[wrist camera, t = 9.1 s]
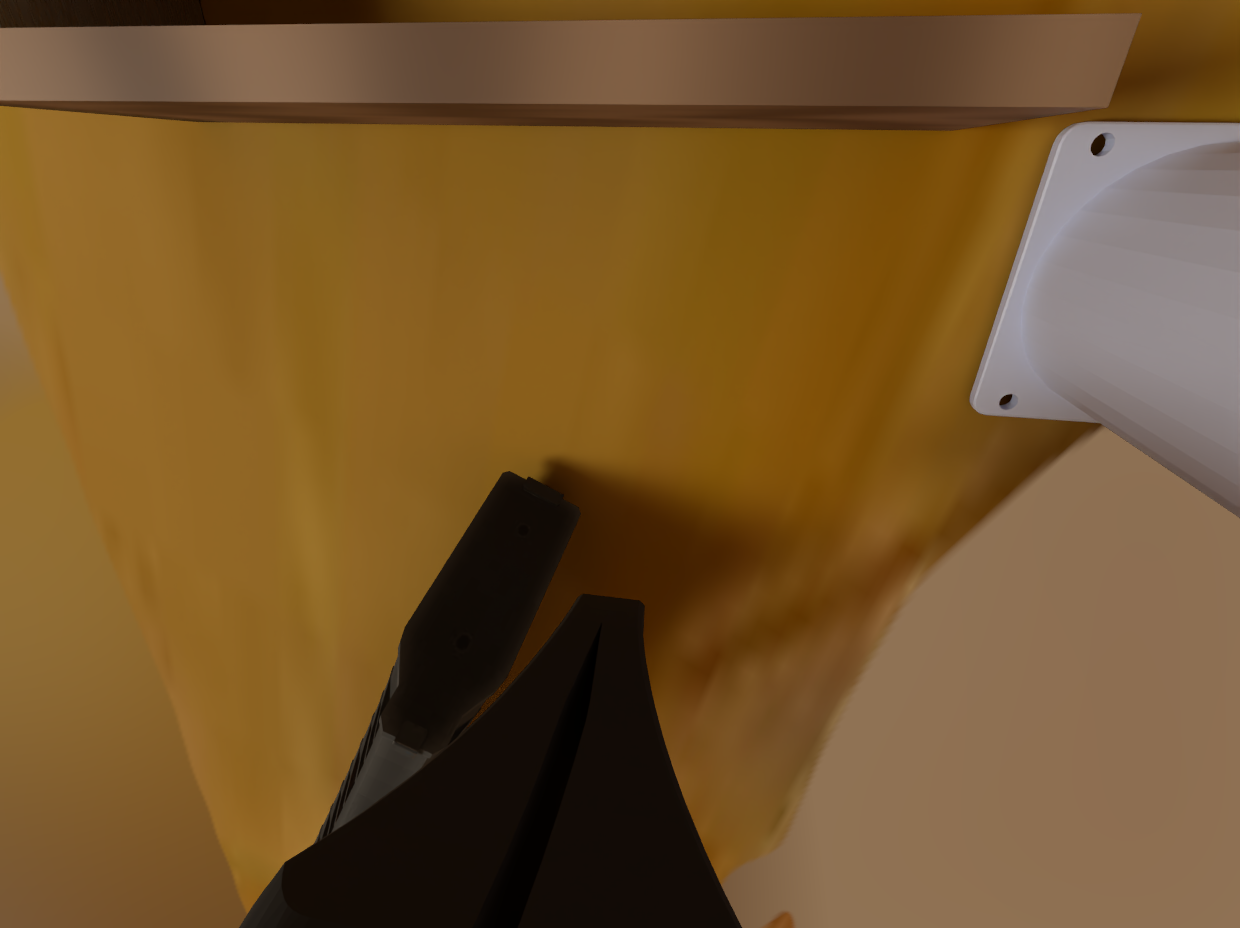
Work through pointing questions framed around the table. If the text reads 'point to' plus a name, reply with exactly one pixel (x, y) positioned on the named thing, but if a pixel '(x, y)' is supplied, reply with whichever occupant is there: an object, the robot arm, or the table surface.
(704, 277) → the table surface
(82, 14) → the bookend
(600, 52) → the shelf wall
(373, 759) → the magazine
